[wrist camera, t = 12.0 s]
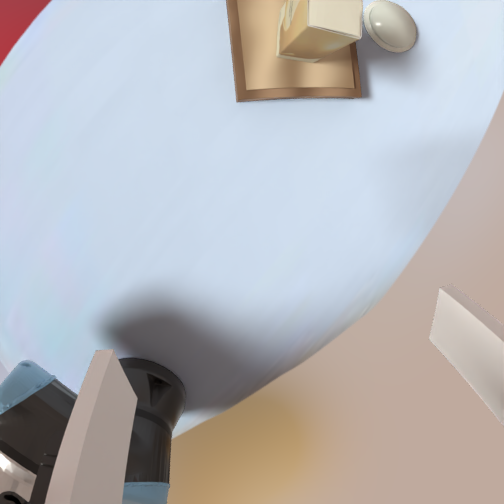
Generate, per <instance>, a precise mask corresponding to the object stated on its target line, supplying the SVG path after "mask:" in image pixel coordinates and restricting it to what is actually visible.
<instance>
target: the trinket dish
mask: <svg viewBox="0 0 504 504" xmlns="http://www.w3.org/2000/svg"><path fill="white" fill-rule="evenodd" d="M363 19H364V24H365V27H366V30H367V32H368V33H369V35H370V36H371V38H372V39H373V40H374V41H375V42H376V43H377V44H378V45H379V46H381V47H382V48H384V49H386V50H388V51H391V52H397V53H399V52H404V51H407V50H409V49H410V48H411V47H412V46H413V45H414V43H415V40H416V26H415V23H414V21H413V19H412V17H411V16H410V14H409V13H408V12H407V11H406V10H405V9H404V8H402V7H401V6H399V5H398V4H395V3H393V2H390V1H386V0H377V1H374V2H372V3H370V4H369V5H368V6H367V7H366V9H365V11H364V16H363Z"/></svg>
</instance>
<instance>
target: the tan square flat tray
mask: <svg viewBox="0 0 504 504" xmlns="http://www.w3.org/2000/svg"><path fill="white" fill-rule="evenodd" d="M286 1H287V0H226V3H227V13H228V23H229V33H230V42H231V52H232V62H233V72H234V81H235V91H236V101H237V102H245V101H258V100H273V99H297V98H348V99H353V98H359V97H361V86H360V76H359V67H358V59H357V51H356V43H355V42H353V43H351V44H349V45H347V46H345V47H343V48H341V49H339V50H337V51H335V52H333V53H331V54H329V55H327V56H325V57H323V58H321V59H319V60H318V61H316V62H314V63H309V62H303V61H297V60H291V59H285V58H279V57H277V56H276V51H277V32H278V21H279V14H280V10H281V8H282V7H283V5H284V4H285V2H286Z"/></svg>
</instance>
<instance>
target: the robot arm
mask: <svg viewBox="0 0 504 504" xmlns="http://www.w3.org/2000/svg"><path fill="white" fill-rule="evenodd" d="M429 339H430V341H431V342H432V343H433V344H434V345H435V346H436V347H437V348H438V350H439V351H440V352H441V353H442V354H443V355H444V356H445V357H446V358H447V359H448V361H449V362H450V363H451V364H452V365H453V366H454V368H455V369H456V370H457V371H458V372H459V373H460V374H461V375H462V377H463V378H464V379H465V380H466V381H467V383H468V384H469V385H470V386H471V387H472V388H473V390H474V391H475V392H476V393H477V394H478V396H479V397H480V398H481V399H482V400H483V401H484V403H485V404H486V405H487V406H488V408H489V409H490V410H491V411H492V413H493V414H494V415H495V416H496V417H497V419H498V420H499V421H500V423H501V424H502V425H503V426H504V325H503V324H502V323H501V322H500V321H498V320H497V319H496V318H495V317H494V316H492V315H491V314H490V313H489V312H488V311H486V310H485V309H484V308H482V307H481V306H480V305H479V304H478V303H476V302H475V301H474V300H473V299H471V298H470V297H469V296H467V295H466V294H465V293H463V292H462V291H461V290H460V289H458V288H457V287H456V286H454V285H453V284H450V285H447V286H444V287H440V290H439V294H438V300H437V305H436V310H435V315H434V319H433V324H432V328H431V332H430V336H429ZM185 398H186V393H185V389H184V386H183V384H182V383H181V381H180V380H179V379H178V378H177V377H176V376H175V375H174V374H173V373H172V372H170V371H169V370H168V369H166V368H164V367H162V366H160V365H158V364H156V363H153V362H150V361H146V360H142V359H132V358H129V359H120V360H118V358H117V356H116V354H115V352H114V349H108V350H96V352H95V354H94V356H93V359H92V361H91V364H90V366H89V368H88V371H87V373H86V376H85V378H84V381H83V384H82V386H81V389H80V391H79V394H78V395H77V394H76V393H74V392H73V391H71V390H70V389H69V388H67V387H66V386H65V385H63V384H62V383H61V382H60V381H58V380H57V379H56V377H55V376H54V375H51V374H49V373H48V372H47V371H45V370H44V369H43V368H41V367H40V366H39V365H37V364H36V363H35V362H33V361H30V360H25V361H22V362H20V363H19V364H18V365H17V366H16V367H15V368H14V369H13V371H12V372H11V373H10V374H9V375H8V376H7V378H6V379H5V380H4V381H3V382H2V383H1V385H0V504H167V497H168V490H169V488H170V484H169V475H170V455H171V454H170V453H171V438H172V431H173V429H174V428H175V426H176V424H177V422H178V420H179V418H180V416H181V414H182V413H183V411H184V407H185Z"/></svg>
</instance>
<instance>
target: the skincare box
mask: <svg viewBox="0 0 504 504" xmlns="http://www.w3.org/2000/svg"><path fill="white" fill-rule="evenodd" d="M362 13H363V2H362V0H287V1H286V2H285V4H284V5H283V7H282V8H281V10H280V14H279V21H278V32H277V51H276V56H277V57H279V58H285V59H291V60H297V61H303V62H309V63H314V62H316V61H318V60H319V59H321V58H323V57H325V56H327V55H329V54H331V53H333V52H335V51H337V50H339V49H341V48H343V47H345V46H347V45H349V44H351V43H353V42H355V41H357V40H359V39H361V38H362Z"/></svg>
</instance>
